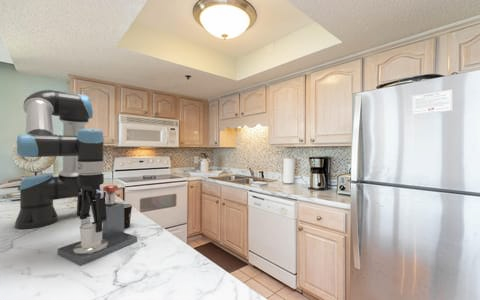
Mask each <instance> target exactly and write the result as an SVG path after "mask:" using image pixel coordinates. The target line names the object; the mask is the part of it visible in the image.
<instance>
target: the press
mask: <svg viewBox="0 0 480 300" xmlns="http://www.w3.org/2000/svg"><path fill="white" fill-rule="evenodd" d="M124 204H125V203H121V202H117V201H115V205H113V206H106V216H107V220H105V221H103V222H102V223H103V228H102V240H101V244H100V245H98V246H96V247H93V248H82V245H81V240H80V241H75V242H73V243H70V244H68V245H64V246H62V247H58V248H57V255H58V256H60V257H61V258H64V259H66V260H67V261H70V262H71V263H75V264H76V265H78V266H84V265H87V264H88V263H91V262H93V261H95V260H98V259H100V258H102V257H105V256H107V255H108V254H112V253H114V252H116V251H119V250H121V249H123V248H126V247H127V246H131V245H132V244H135V243H137V242H138V236H137V235H133V234H130V233H126V232H125V229H124Z"/></svg>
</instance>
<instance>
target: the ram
mask: <svg viewBox="0 0 480 300" xmlns="http://www.w3.org/2000/svg"><path fill="white" fill-rule="evenodd" d="M102 188H103V189H102V190H103V191H102V192H106V197H105V201H106V206H113V205H115V202H116V191H117V190H119V189H118V188H119V187H118V185H117V184H116V185H115V184H114V185H113V184H112V185H110V184H109V185H104V186H103V187H102Z"/></svg>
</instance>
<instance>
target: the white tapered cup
mask: <svg viewBox="0 0 480 300" xmlns="http://www.w3.org/2000/svg"><path fill="white" fill-rule="evenodd" d="M93 222H94V221H90V223H86V224H83V225H81V224H80V226H79V235H80V241H81V245H82V248H93V247H96V246H98V245H100V244H101V240H100V241H97V242H95V243H93V224H92V223H93ZM102 228H103V223H102Z"/></svg>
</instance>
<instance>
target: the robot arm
mask: <svg viewBox="0 0 480 300" xmlns="http://www.w3.org/2000/svg"><path fill="white" fill-rule="evenodd" d="M22 107H23V111H24V113H25V114H26V115H25V116H26V119H25V133H23V134H19V135H17V139H16V141H17V142H16V150H17V156H19V157H22V158H23V157H24V158H26V157H27V158H28V157H29V158H40V157H42V158H43V157H44V158H45V157H46V158H47V157H62V170H60V171H59V172H58V175H57V176H54V175H53V174H52V173H46V174H45V173H43V174H37V175H33V176H27V177H24V178H23V179H21V181H20V184H19V192H20V193H19V194H20V195H19V197H20V199H19V200H20V203H19V204H20V206H19V207H20V208H19V209H20V210H19V212H18V215H17V217H16V220H15V221H14V228H15V229H19V230H28V229H36V228H40V227H44V226H45V227H46V226H49V225H52V224H54V223H57V222H58V221H59V218H58V217H59V215H58V213H57V211H56V208H55V207H54V201H55V200H62V199H63V200H65V199H71V198H77V199H76V200H77V201H76V202H77V204H76V217H79V220H80V226H81V225H83V224H86V223H90V222H91V214H90V212H91V213H92V219H93V221H92V222H93V223H92V224H93V243H95V242H97V241H100V240H102V222H103V221H105V220H107V216H106V191H102V190H101V187H100V186H101V185H103V184H104V183H105V182H104V180H105V179H104V178H105V177H104V176H105V175H104V173H103V172H105V171H104V170H105V169H104V167H105V166H104V165H105V163H104V141H105V138H104V131H102V130H101V129H94V128H93V129H92V128H91V129H90V128H89V129H88V128H85V126H86V125H87V124H88V123H89V120H90V119H93V114H94V112H93V105H92V101H91V98H90V97H89V96H88V95H86V94H81V93H80V94H79V93H74V92H66V91H59V90H52V89H46V90H39V91H35V92H33V93H31V94H30V95H28V96H27V97H26V98H25V100H24V101H23V106H22ZM52 116H56V117H59V121H60V122H62V124H63V127H62V128H63V129H62V130H63V131H62V133H63V134H62V135H57V134H56V135H55V133H54V132H55V131H54V126H53V118H52Z"/></svg>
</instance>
